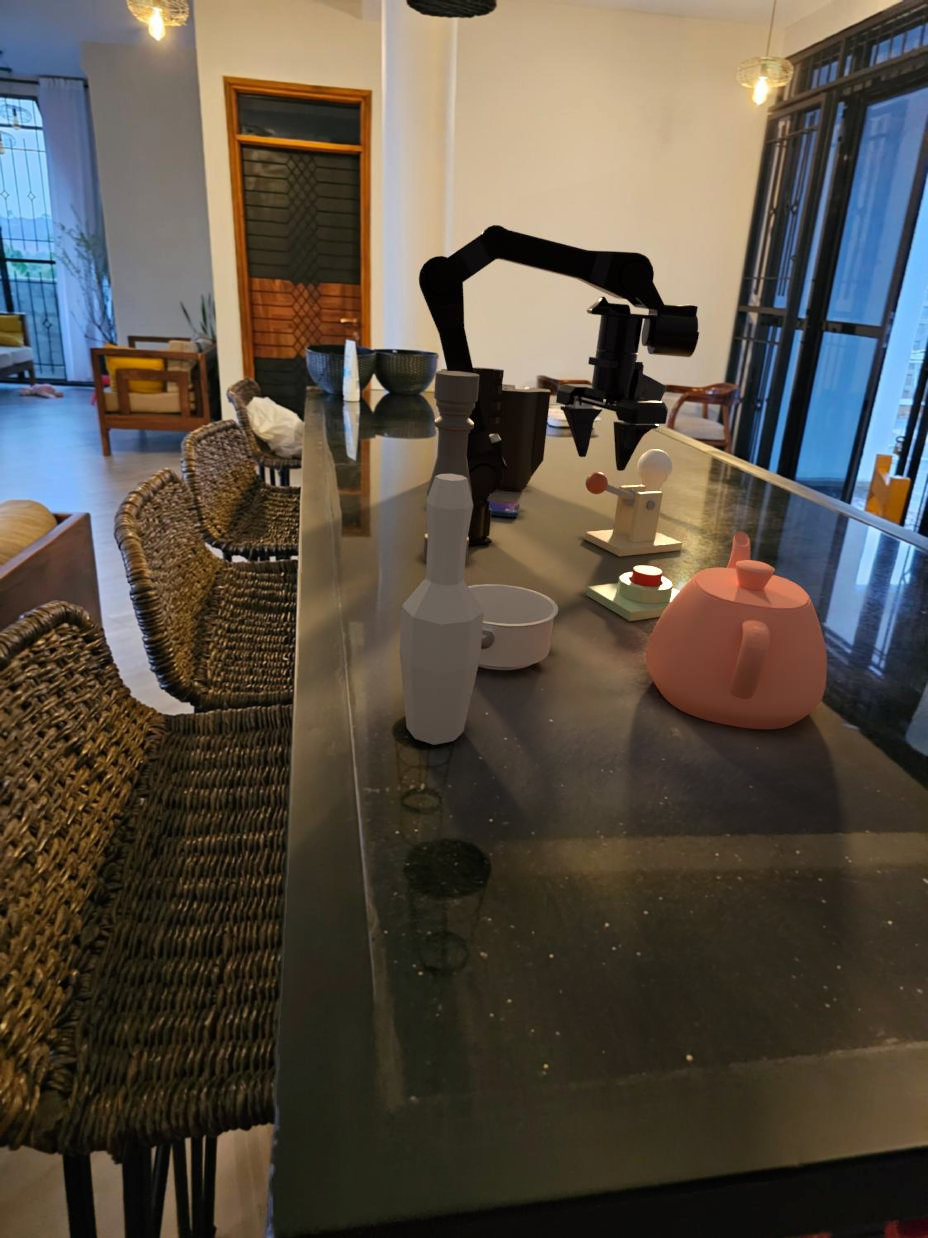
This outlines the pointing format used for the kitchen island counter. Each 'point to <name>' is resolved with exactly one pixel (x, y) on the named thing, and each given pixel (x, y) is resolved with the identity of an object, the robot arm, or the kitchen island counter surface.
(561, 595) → the kitchen island counter surface
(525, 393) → the brown vase set
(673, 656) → the teapot
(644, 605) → the button housing
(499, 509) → the smartphone
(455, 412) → the candle holder
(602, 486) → the switch lever
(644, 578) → the button
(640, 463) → the lightbulb
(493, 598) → the saucepan
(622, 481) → the kitchen island counter surface
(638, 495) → the switch bracket
